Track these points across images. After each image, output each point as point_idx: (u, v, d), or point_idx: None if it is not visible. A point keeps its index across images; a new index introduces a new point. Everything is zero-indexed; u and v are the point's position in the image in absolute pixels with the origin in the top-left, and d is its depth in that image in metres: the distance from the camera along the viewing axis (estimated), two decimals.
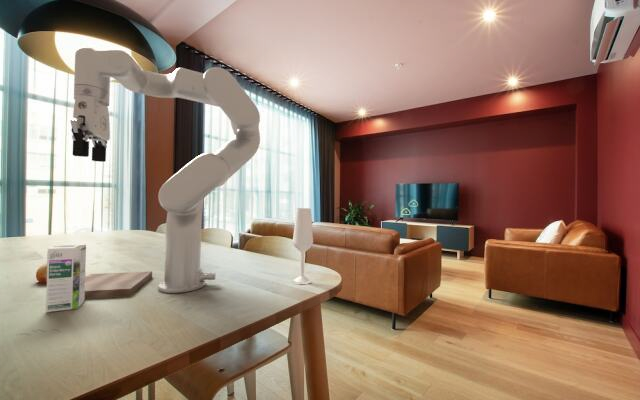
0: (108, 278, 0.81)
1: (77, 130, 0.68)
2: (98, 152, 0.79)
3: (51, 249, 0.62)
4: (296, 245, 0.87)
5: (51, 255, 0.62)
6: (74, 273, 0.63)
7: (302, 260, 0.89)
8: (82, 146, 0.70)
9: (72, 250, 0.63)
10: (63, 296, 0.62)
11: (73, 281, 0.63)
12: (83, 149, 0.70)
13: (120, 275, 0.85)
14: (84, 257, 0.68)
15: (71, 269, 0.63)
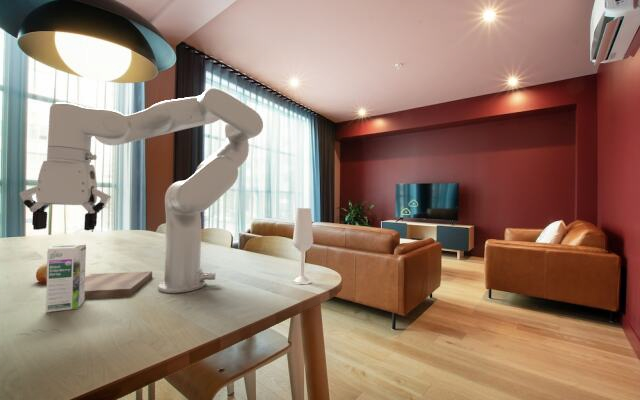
0: (108, 278, 0.81)
1: (105, 205, 0.67)
2: (42, 218, 0.64)
3: (51, 249, 0.62)
4: (296, 245, 0.87)
5: (51, 255, 0.62)
6: (74, 273, 0.63)
7: (302, 260, 0.89)
8: None
9: (72, 250, 0.63)
10: (63, 296, 0.62)
11: (73, 281, 0.63)
12: None
13: (120, 275, 0.85)
14: (84, 257, 0.67)
15: (71, 269, 0.63)
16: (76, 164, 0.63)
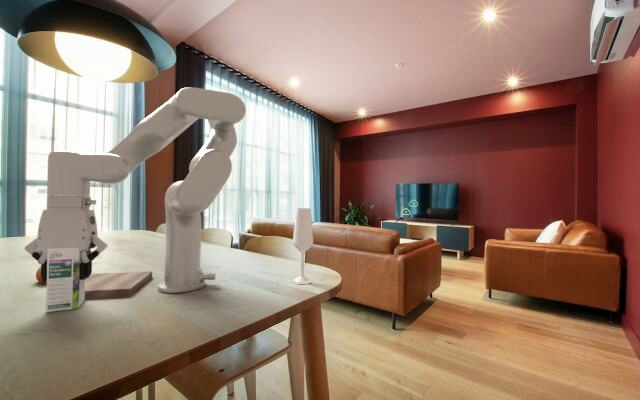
0: (108, 278, 0.81)
1: (99, 253, 0.67)
2: None
3: (51, 249, 0.62)
4: (296, 245, 0.87)
5: (51, 255, 0.62)
6: (74, 273, 0.63)
7: (302, 260, 0.89)
8: None
9: (72, 250, 0.63)
10: (63, 296, 0.62)
11: (73, 281, 0.63)
12: None
13: (120, 275, 0.85)
14: None
15: (71, 269, 0.63)
16: (76, 211, 0.63)
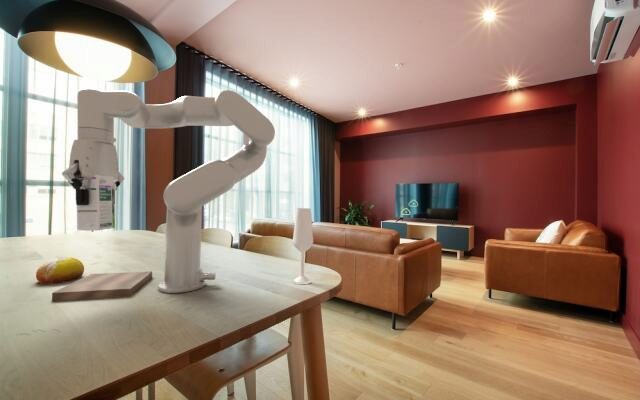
0: (108, 278, 0.81)
1: None
2: None
3: (99, 175, 0.71)
4: (296, 245, 0.87)
5: (99, 181, 0.71)
6: (112, 198, 0.75)
7: (302, 260, 0.89)
8: None
9: (110, 178, 0.75)
10: (108, 217, 0.73)
11: (112, 204, 0.75)
12: None
13: (120, 275, 0.85)
14: None
15: (111, 194, 0.75)
16: (112, 146, 0.75)
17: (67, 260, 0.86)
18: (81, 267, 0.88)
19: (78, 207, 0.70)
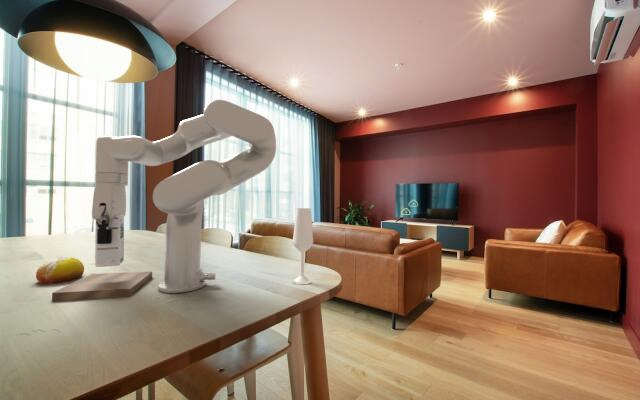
0: (108, 278, 0.81)
1: None
2: None
3: (120, 215, 0.79)
4: (296, 245, 0.87)
5: (120, 220, 0.79)
6: (123, 234, 0.82)
7: (302, 260, 0.89)
8: None
9: (123, 216, 0.82)
10: (122, 252, 0.81)
11: (123, 240, 0.82)
12: None
13: (120, 275, 0.85)
14: None
15: (123, 231, 0.82)
16: (124, 186, 0.82)
17: (67, 260, 0.86)
18: (81, 267, 0.88)
19: (97, 245, 0.76)
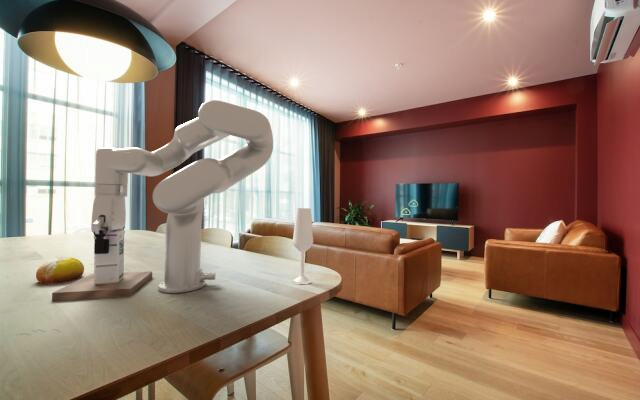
0: None
1: None
2: None
3: (119, 232, 0.78)
4: (296, 245, 0.87)
5: (119, 237, 0.78)
6: (123, 250, 0.82)
7: (302, 260, 0.89)
8: None
9: (122, 232, 0.82)
10: (121, 268, 0.80)
11: (123, 256, 0.82)
12: None
13: None
14: None
15: (123, 247, 0.82)
16: (124, 197, 0.82)
17: (67, 260, 0.86)
18: (81, 267, 0.88)
19: (96, 263, 0.75)
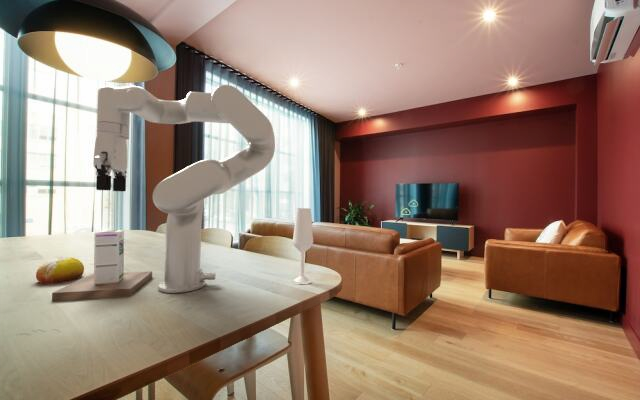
0: None
1: None
2: None
3: (119, 232, 0.78)
4: (296, 245, 0.87)
5: (119, 237, 0.78)
6: (123, 250, 0.82)
7: (302, 260, 0.89)
8: None
9: (122, 232, 0.82)
10: (121, 268, 0.80)
11: (123, 256, 0.82)
12: None
13: None
14: None
15: (123, 247, 0.82)
16: None
17: (67, 260, 0.86)
18: (81, 267, 0.88)
19: (96, 263, 0.75)
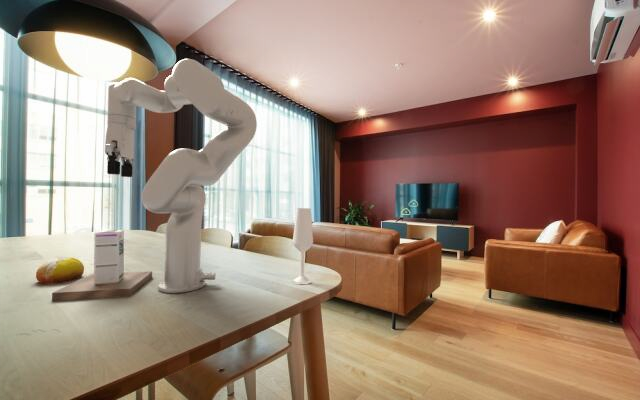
0: None
1: None
2: None
3: (119, 232, 0.78)
4: (296, 245, 0.87)
5: (119, 237, 0.78)
6: (123, 250, 0.82)
7: (302, 260, 0.89)
8: None
9: (122, 232, 0.82)
10: (121, 268, 0.80)
11: (123, 256, 0.82)
12: None
13: None
14: None
15: (123, 247, 0.82)
16: None
17: (67, 260, 0.86)
18: (81, 267, 0.88)
19: (96, 263, 0.75)
